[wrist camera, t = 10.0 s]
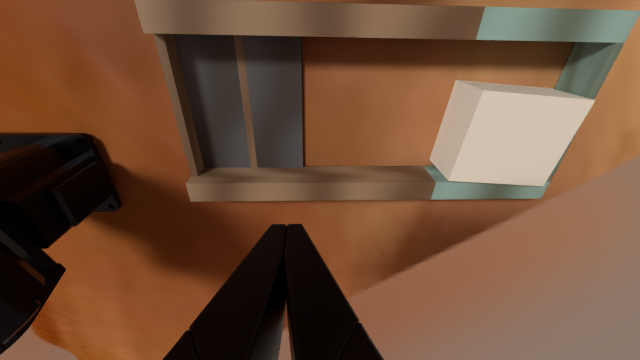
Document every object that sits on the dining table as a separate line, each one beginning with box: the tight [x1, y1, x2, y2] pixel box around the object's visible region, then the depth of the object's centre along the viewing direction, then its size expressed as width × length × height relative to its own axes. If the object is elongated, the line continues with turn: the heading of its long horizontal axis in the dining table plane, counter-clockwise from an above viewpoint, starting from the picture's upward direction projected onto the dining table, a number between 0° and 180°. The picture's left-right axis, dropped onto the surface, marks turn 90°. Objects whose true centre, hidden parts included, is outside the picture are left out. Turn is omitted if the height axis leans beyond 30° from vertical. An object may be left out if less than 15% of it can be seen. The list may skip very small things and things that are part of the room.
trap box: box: [134, 0, 640, 202], centre depth 18 cm, size 26×12×2 cm, turn 89°
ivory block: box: [430, 80, 595, 186], centre depth 18 cm, size 7×6×4 cm
